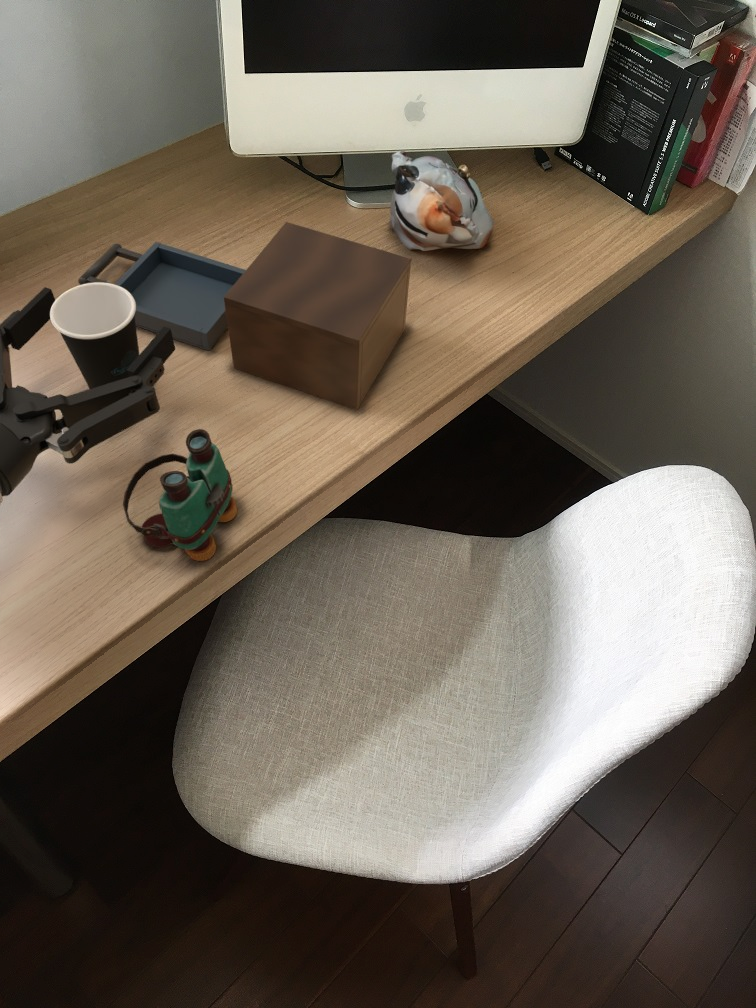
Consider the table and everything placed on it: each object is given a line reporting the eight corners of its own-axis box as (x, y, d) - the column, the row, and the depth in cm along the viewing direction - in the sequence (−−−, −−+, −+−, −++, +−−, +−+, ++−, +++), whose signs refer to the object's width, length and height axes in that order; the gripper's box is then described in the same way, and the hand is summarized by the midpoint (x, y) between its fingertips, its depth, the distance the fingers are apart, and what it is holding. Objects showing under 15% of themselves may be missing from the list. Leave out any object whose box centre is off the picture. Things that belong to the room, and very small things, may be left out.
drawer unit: (233, 368, 86) (223, 297, 78) (290, 293, 94) (286, 221, 86) (357, 410, 83) (359, 340, 75) (404, 329, 91) (411, 258, 83)
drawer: (71, 304, 91) (65, 286, 89) (127, 248, 97) (122, 231, 95) (209, 350, 87) (206, 333, 85) (257, 289, 94) (256, 272, 92)
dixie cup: (151, 417, 81) (128, 337, 72) (73, 417, 81) (41, 336, 72) (160, 363, 86) (140, 282, 77) (87, 363, 86) (58, 281, 77)
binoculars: (132, 402, 70) (233, 425, 67) (164, 478, 78) (255, 501, 75) (77, 476, 64) (185, 504, 62) (117, 549, 73) (213, 576, 70)
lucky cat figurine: (512, 238, 102) (521, 180, 88) (440, 296, 102) (438, 247, 88) (439, 158, 104) (437, 90, 91) (369, 215, 104) (356, 155, 90)
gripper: (-130, 452, 72) (17, 311, 83) (104, 545, 67) (225, 382, 79) (-174, 395, 65) (-8, 252, 77) (81, 493, 61) (216, 325, 73)
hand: (110, 317), depth 78 cm, fingers open, 13 cm apart
